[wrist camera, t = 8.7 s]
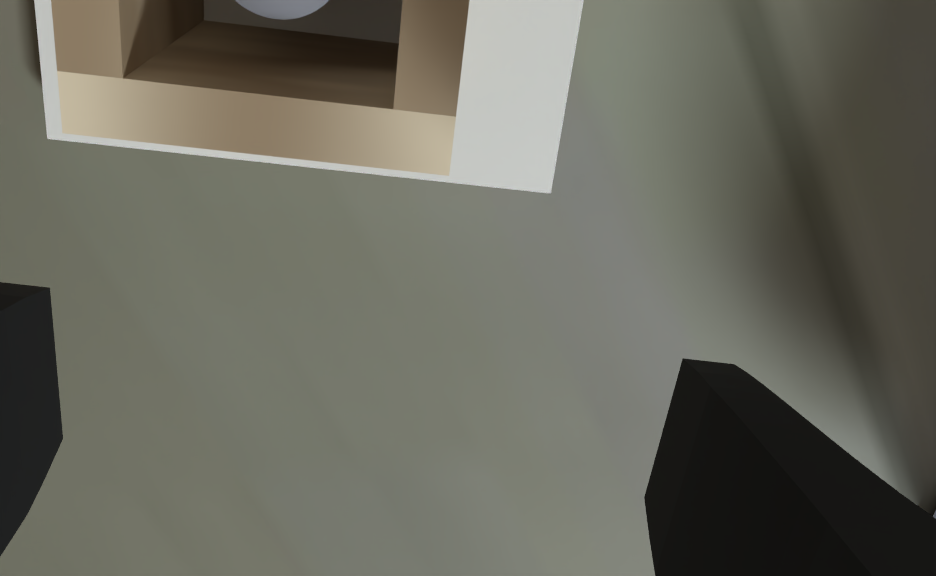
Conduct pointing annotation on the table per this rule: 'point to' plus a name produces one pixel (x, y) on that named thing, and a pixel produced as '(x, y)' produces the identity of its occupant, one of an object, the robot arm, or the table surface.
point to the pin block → (480, 92)
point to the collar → (262, 83)
